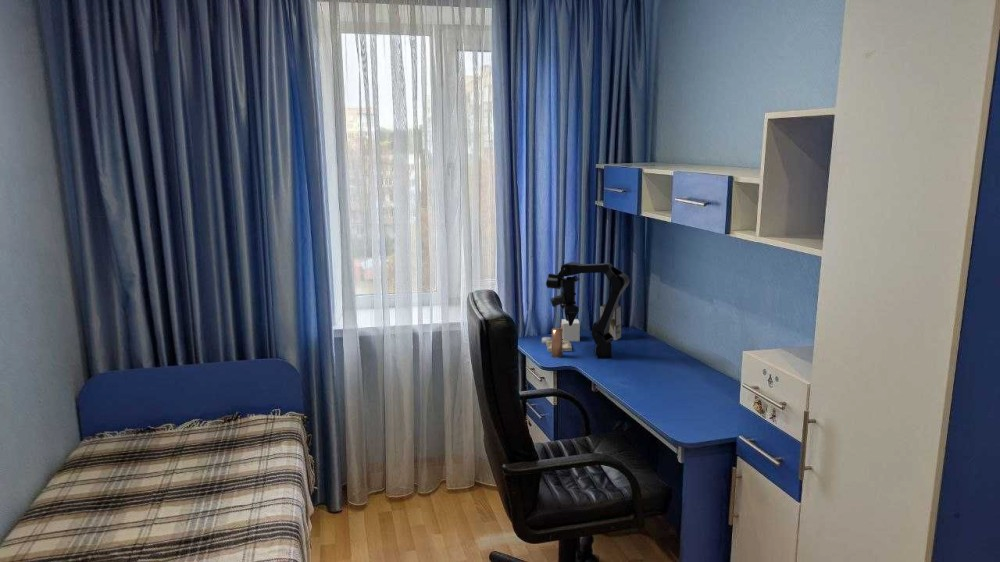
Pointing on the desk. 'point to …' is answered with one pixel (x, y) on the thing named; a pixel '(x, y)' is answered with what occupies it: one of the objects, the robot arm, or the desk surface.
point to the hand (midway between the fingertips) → (568, 323)
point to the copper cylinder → (557, 342)
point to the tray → (565, 346)
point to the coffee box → (614, 322)
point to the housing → (571, 330)
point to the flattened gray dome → (546, 339)
